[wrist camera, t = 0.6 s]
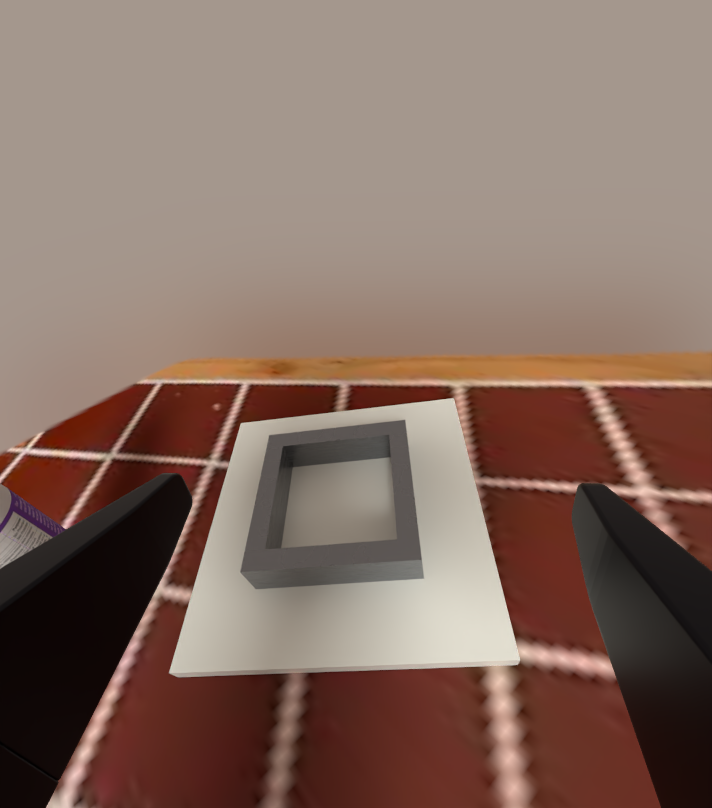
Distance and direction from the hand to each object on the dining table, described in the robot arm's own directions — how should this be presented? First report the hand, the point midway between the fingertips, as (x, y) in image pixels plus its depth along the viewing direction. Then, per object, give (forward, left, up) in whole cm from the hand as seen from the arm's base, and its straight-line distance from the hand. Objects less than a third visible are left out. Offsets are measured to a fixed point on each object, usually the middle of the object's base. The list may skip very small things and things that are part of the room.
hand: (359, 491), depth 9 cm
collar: (+7, +7, -16) cm, 19 cm away
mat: (+7, +7, -16) cm, 19 cm away
